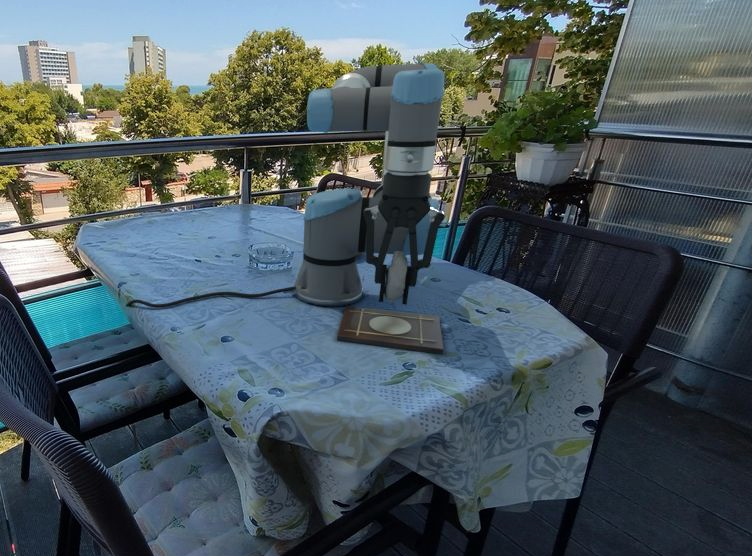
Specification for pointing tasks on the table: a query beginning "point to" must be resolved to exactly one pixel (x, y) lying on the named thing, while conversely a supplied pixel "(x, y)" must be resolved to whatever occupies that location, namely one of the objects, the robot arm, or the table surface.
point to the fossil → (396, 277)
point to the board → (391, 329)
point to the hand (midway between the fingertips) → (392, 300)
